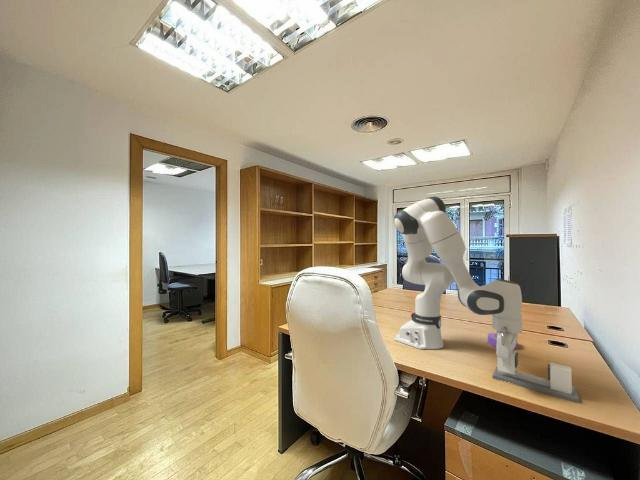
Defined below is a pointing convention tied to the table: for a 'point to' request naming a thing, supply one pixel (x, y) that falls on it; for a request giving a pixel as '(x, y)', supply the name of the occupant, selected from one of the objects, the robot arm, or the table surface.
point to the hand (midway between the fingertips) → (507, 363)
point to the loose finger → (512, 363)
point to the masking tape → (494, 339)
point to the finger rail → (537, 387)
